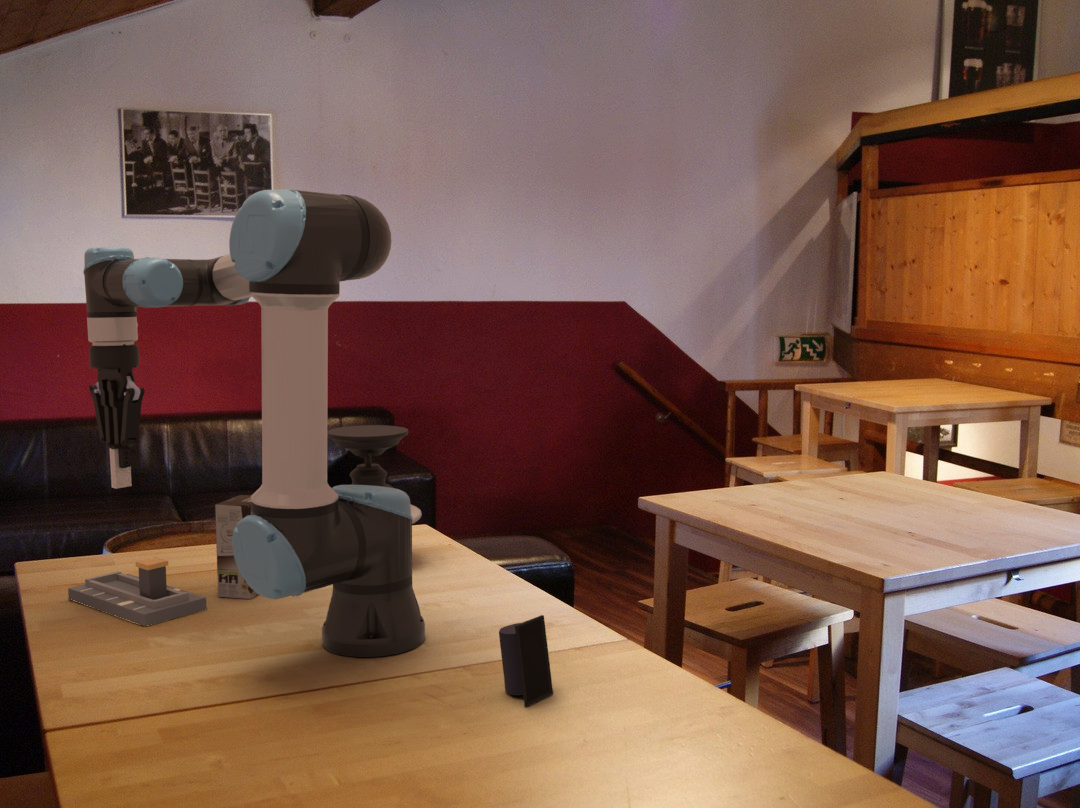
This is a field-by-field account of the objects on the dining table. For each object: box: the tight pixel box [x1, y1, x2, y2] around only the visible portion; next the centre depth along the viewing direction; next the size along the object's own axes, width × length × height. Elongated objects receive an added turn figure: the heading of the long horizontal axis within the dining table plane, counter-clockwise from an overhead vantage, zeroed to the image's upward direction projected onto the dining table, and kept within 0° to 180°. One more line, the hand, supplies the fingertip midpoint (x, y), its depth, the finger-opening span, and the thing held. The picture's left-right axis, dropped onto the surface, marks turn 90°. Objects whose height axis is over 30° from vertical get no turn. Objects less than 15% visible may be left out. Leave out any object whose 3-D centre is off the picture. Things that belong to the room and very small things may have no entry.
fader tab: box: [135, 556, 169, 599], centre depth 169 cm, size 4×4×6 cm
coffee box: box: [214, 494, 259, 600], centre depth 179 cm, size 9×6×16 cm
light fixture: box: [327, 424, 423, 525], centre depth 196 cm, size 20×20×25 cm
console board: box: [67, 570, 208, 627], centre depth 172 cm, size 23×11×3 cm, turn 52°
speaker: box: [498, 614, 554, 708], centre depth 135 cm, size 8×6×10 cm
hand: (121, 486), depth 172 cm, fingers closed
